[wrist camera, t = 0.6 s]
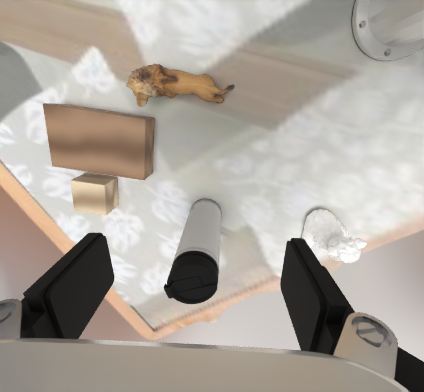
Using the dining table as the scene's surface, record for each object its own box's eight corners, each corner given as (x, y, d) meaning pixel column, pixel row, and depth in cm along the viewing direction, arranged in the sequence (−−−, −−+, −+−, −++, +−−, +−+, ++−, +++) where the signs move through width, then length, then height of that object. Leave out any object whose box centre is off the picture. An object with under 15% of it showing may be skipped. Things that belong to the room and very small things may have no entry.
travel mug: (184, 202, 43) (155, 274, 25) (216, 195, 42) (209, 263, 24) (194, 228, 45) (173, 312, 27) (224, 222, 44) (224, 303, 26)
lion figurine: (148, 107, 37) (125, 107, 28) (143, 71, 35) (117, 60, 26) (234, 103, 36) (237, 102, 27) (234, 66, 34) (237, 53, 25)
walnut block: (65, 103, 38) (42, 103, 33) (155, 117, 38) (145, 119, 33) (71, 159, 42) (52, 166, 37) (153, 172, 42) (144, 180, 37)
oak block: (87, 172, 42) (70, 180, 37) (117, 176, 42) (104, 185, 37) (90, 199, 44) (74, 210, 40) (118, 204, 44) (106, 215, 40)
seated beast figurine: (299, 247, 46) (323, 292, 35) (288, 214, 43) (310, 251, 32) (346, 234, 44) (386, 276, 33) (337, 198, 41) (379, 231, 30)
